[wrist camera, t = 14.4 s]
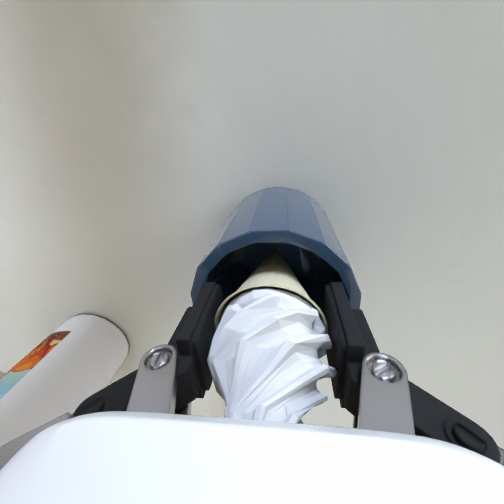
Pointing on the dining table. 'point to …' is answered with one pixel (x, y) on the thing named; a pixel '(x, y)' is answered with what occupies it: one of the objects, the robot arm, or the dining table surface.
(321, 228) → the tumbler
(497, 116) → the dining table surface
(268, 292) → the ice cream cone
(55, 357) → the milk bottle
